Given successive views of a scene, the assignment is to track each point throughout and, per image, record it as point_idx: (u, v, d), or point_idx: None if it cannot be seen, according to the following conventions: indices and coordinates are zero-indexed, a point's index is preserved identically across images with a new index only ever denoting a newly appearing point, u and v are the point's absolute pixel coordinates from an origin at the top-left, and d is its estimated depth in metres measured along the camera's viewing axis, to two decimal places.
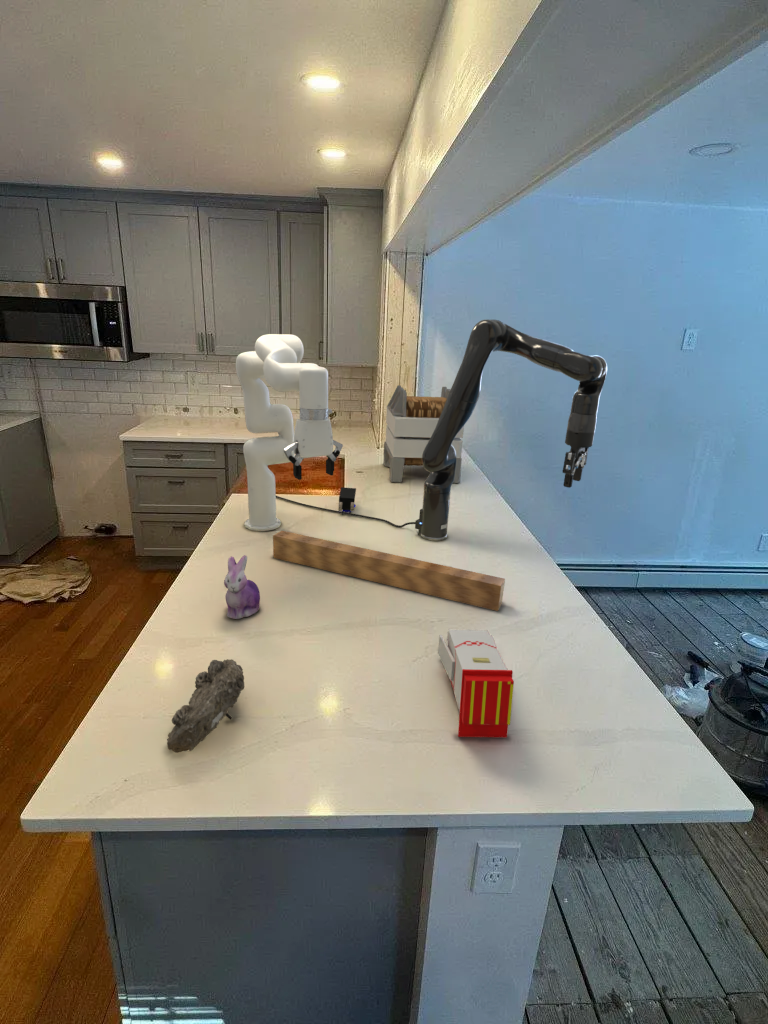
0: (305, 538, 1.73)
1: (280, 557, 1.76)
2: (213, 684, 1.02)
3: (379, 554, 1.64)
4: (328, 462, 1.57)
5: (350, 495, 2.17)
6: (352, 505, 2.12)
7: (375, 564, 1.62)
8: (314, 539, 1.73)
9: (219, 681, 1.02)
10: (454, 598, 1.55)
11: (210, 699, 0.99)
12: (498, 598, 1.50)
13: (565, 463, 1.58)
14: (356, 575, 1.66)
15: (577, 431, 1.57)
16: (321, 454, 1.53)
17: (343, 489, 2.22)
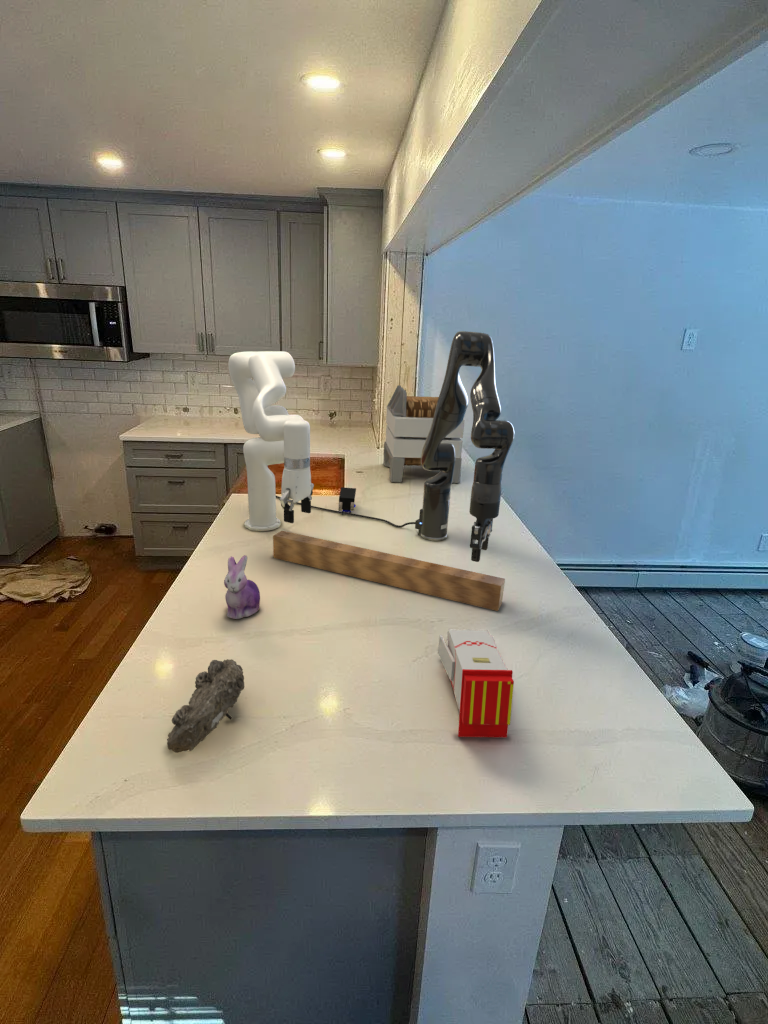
0: (305, 538, 1.73)
1: (280, 557, 1.76)
2: (213, 684, 1.02)
3: (379, 554, 1.64)
4: (305, 502, 1.74)
5: (350, 495, 2.17)
6: (352, 505, 2.12)
7: (375, 564, 1.62)
8: (314, 539, 1.73)
9: (219, 681, 1.02)
10: (454, 598, 1.55)
11: (210, 699, 0.99)
12: (498, 598, 1.50)
13: (472, 538, 1.43)
14: (356, 575, 1.66)
15: (482, 502, 1.43)
16: (305, 496, 1.70)
17: (343, 489, 2.22)
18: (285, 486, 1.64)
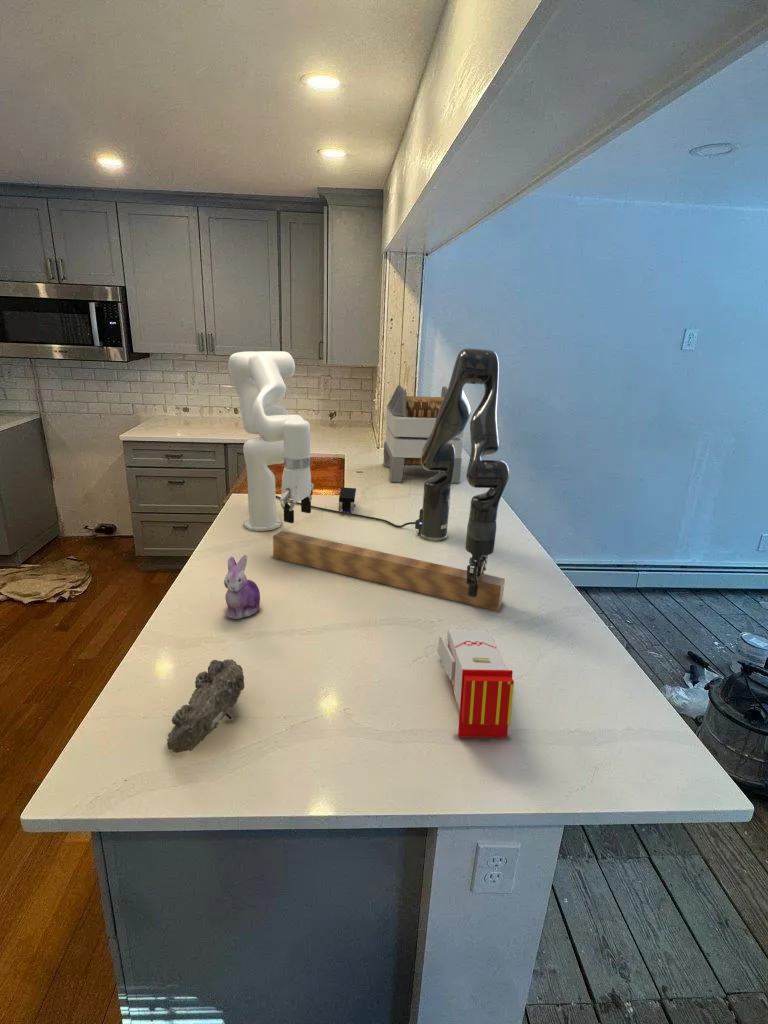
0: (305, 538, 1.73)
1: (280, 557, 1.76)
2: (213, 684, 1.02)
3: (379, 554, 1.64)
4: (305, 502, 1.74)
5: (350, 495, 2.17)
6: (352, 505, 2.12)
7: (375, 564, 1.62)
8: (314, 539, 1.73)
9: (219, 681, 1.02)
10: (454, 598, 1.55)
11: (210, 699, 0.99)
12: (498, 598, 1.50)
13: (468, 576, 1.48)
14: (356, 575, 1.66)
15: (478, 539, 1.46)
16: (305, 496, 1.70)
17: (343, 489, 2.22)
18: (285, 486, 1.64)
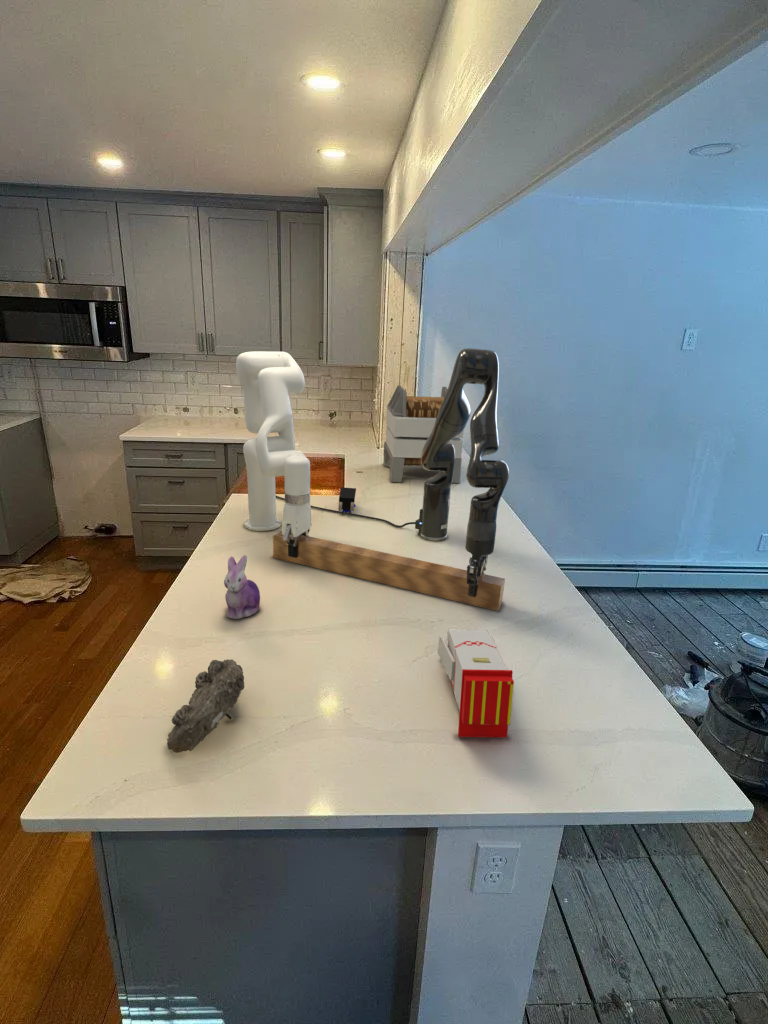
0: (305, 538, 1.73)
1: (280, 557, 1.76)
2: (213, 684, 1.02)
3: (379, 554, 1.64)
4: None
5: (350, 495, 2.17)
6: (352, 505, 2.12)
7: (375, 564, 1.62)
8: (314, 539, 1.73)
9: (219, 681, 1.02)
10: (454, 598, 1.55)
11: (210, 699, 0.99)
12: (498, 598, 1.50)
13: (468, 576, 1.48)
14: (356, 575, 1.66)
15: (478, 539, 1.46)
16: (305, 530, 1.73)
17: (343, 489, 2.22)
18: (286, 521, 1.67)
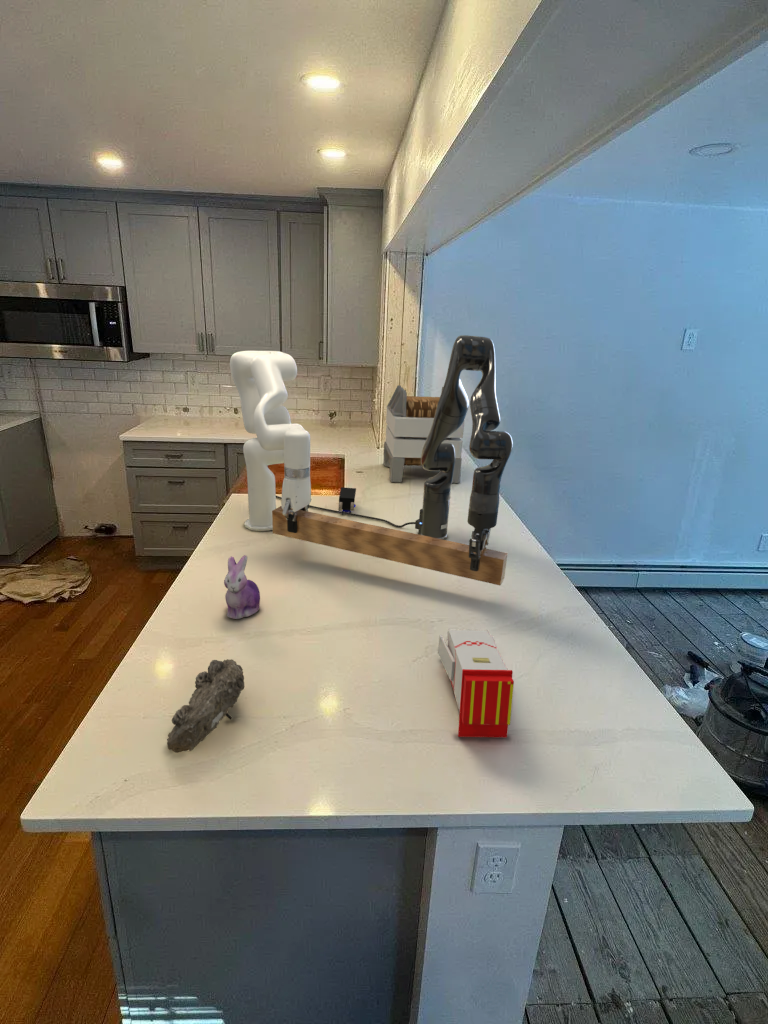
0: (305, 513, 1.71)
1: (279, 533, 1.73)
2: (213, 684, 1.02)
3: (380, 529, 1.62)
4: None
5: (350, 495, 2.17)
6: (352, 505, 2.12)
7: (376, 538, 1.60)
8: (314, 514, 1.70)
9: (219, 681, 1.02)
10: (456, 572, 1.53)
11: (210, 699, 0.99)
12: (500, 572, 1.48)
13: (470, 550, 1.45)
14: (356, 550, 1.64)
15: (480, 512, 1.44)
16: (305, 505, 1.71)
17: (343, 489, 2.22)
18: (285, 495, 1.65)
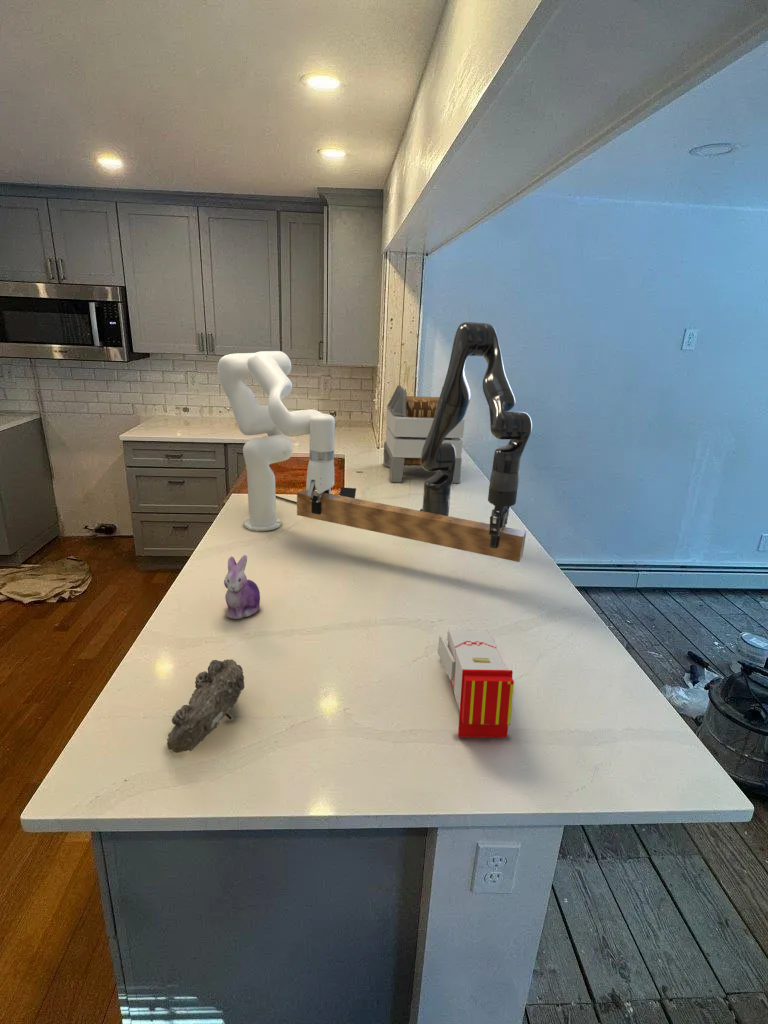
0: (329, 495, 1.77)
1: (304, 514, 1.79)
2: (213, 684, 1.02)
3: (402, 509, 1.68)
4: None
5: (350, 495, 2.17)
6: None
7: (398, 518, 1.66)
8: (337, 496, 1.76)
9: (219, 681, 1.02)
10: (476, 550, 1.59)
11: (210, 699, 0.99)
12: (520, 549, 1.54)
13: (491, 527, 1.51)
14: (379, 530, 1.70)
15: (501, 490, 1.50)
16: (329, 488, 1.77)
17: (343, 489, 2.22)
18: (310, 477, 1.71)
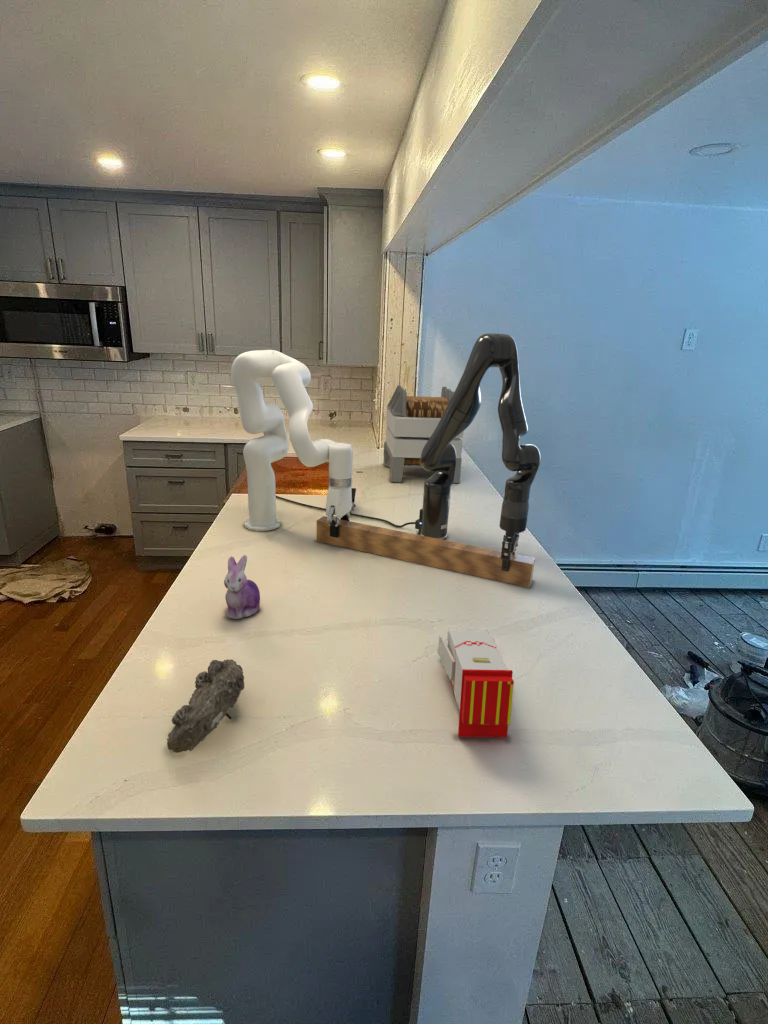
0: (347, 523, 1.87)
1: (323, 540, 1.89)
2: (213, 684, 1.02)
3: (417, 537, 1.78)
4: None
5: None
6: (352, 505, 2.12)
7: (414, 545, 1.76)
8: (355, 523, 1.86)
9: (219, 681, 1.02)
10: (488, 576, 1.69)
11: (210, 699, 0.99)
12: (529, 575, 1.64)
13: (502, 551, 1.61)
14: (395, 556, 1.80)
15: (512, 518, 1.59)
16: (347, 512, 1.86)
17: None
18: (330, 503, 1.81)
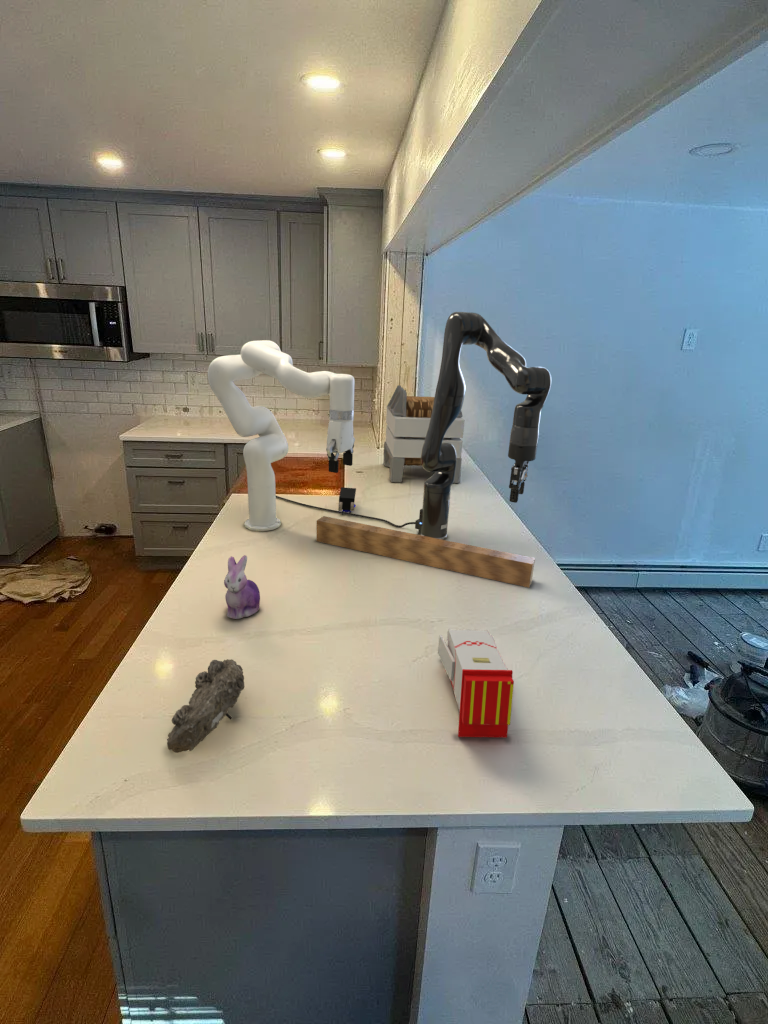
0: (347, 523, 1.87)
1: (323, 540, 1.89)
2: (213, 684, 1.02)
3: (417, 537, 1.78)
4: (347, 455, 1.84)
5: (350, 495, 2.17)
6: (352, 505, 2.12)
7: (414, 545, 1.76)
8: (355, 523, 1.86)
9: (219, 681, 1.02)
10: (488, 576, 1.69)
11: (210, 699, 0.99)
12: (529, 575, 1.64)
13: (511, 478, 1.53)
14: (395, 556, 1.80)
15: (521, 445, 1.52)
16: (348, 448, 1.79)
17: (343, 489, 2.22)
18: (331, 437, 1.73)
